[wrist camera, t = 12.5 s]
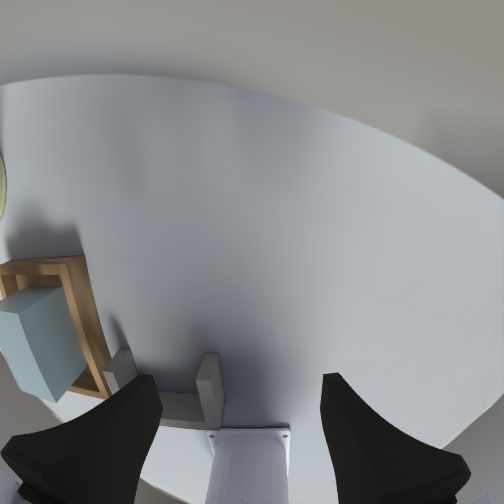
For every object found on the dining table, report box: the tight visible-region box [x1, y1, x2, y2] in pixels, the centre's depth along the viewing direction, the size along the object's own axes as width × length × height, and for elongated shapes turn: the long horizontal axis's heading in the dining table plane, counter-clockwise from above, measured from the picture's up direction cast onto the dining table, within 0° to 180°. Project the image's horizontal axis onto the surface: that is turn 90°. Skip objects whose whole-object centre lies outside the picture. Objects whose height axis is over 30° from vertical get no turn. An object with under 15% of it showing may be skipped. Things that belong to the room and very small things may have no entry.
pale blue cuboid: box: [0, 285, 88, 403], centre depth 18 cm, size 8×5×6 cm, turn 4°
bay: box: [103, 348, 225, 431], centre depth 20 cm, size 6×9×4 cm, turn 94°
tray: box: [0, 255, 112, 400], centre depth 20 cm, size 13×11×2 cm
